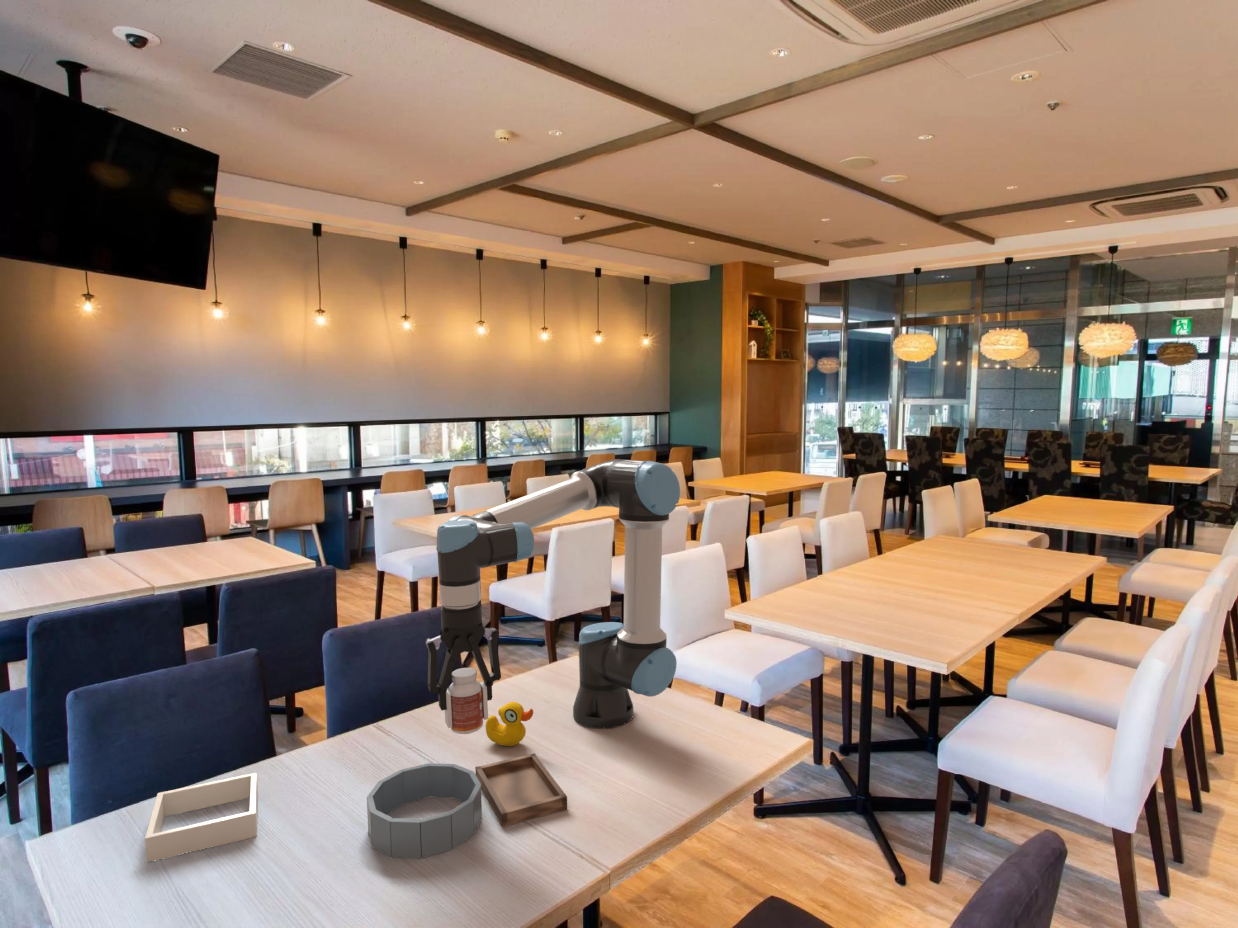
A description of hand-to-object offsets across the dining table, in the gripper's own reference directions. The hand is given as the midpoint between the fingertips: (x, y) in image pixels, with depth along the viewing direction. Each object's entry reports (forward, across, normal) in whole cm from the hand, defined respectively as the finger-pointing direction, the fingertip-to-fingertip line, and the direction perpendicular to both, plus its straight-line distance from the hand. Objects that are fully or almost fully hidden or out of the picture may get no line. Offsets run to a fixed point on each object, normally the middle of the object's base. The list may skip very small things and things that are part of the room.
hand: (466, 720), depth 138 cm
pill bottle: (+2, 0, 0) cm, 2 cm away
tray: (+18, -10, -1) cm, 21 cm away
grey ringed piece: (+18, +9, +1) cm, 20 cm away
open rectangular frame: (+17, +46, -16) cm, 52 cm away
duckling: (+19, -14, -22) cm, 32 cm away
